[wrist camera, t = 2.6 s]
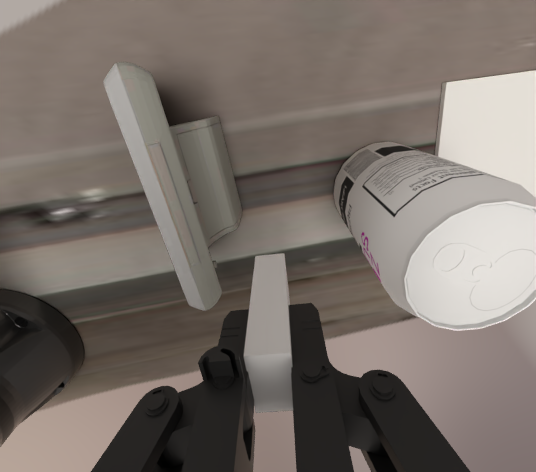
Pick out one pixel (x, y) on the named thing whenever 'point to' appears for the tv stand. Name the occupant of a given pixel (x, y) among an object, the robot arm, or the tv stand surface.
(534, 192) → the mat
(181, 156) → the digital clock
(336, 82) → the tv stand surface
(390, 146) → the supplement can
